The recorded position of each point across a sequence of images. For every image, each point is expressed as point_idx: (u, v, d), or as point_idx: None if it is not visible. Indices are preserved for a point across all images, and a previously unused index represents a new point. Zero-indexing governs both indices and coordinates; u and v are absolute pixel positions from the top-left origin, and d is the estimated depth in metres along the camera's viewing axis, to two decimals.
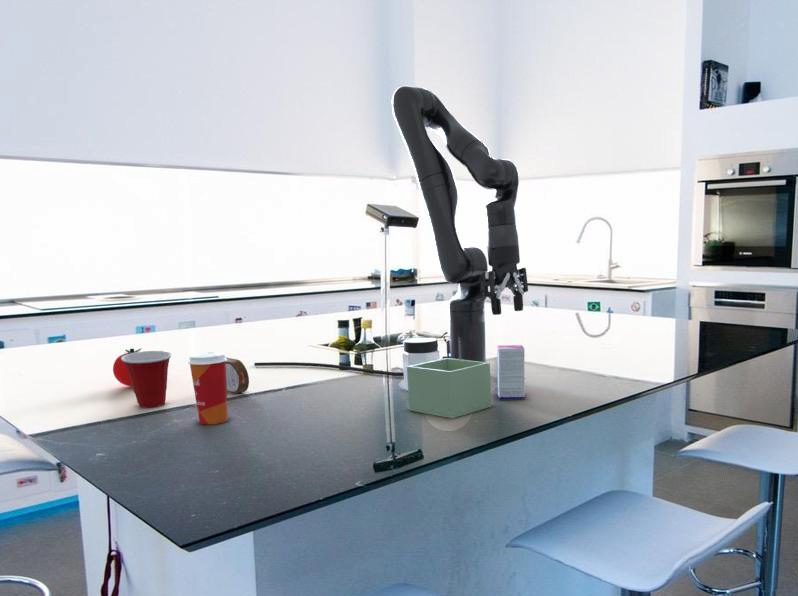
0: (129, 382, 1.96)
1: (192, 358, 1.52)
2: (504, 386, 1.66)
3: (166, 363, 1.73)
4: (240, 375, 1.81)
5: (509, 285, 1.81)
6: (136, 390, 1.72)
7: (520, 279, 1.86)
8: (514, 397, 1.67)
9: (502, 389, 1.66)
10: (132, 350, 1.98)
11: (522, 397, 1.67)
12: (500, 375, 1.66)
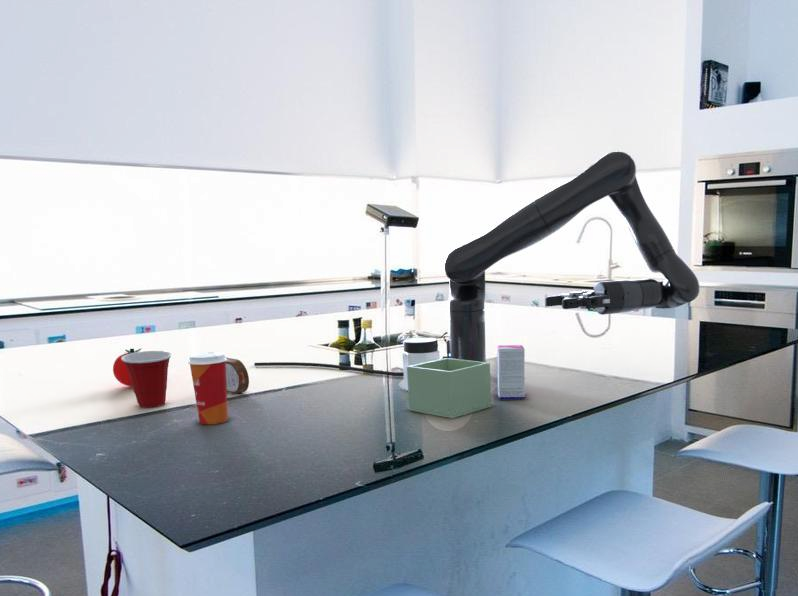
0: (129, 382, 1.96)
1: (192, 358, 1.52)
2: (504, 386, 1.66)
3: (166, 363, 1.73)
4: (240, 375, 1.81)
5: None
6: (136, 390, 1.72)
7: None
8: (514, 397, 1.67)
9: (502, 389, 1.66)
10: (132, 350, 1.98)
11: (522, 397, 1.67)
12: (500, 375, 1.66)
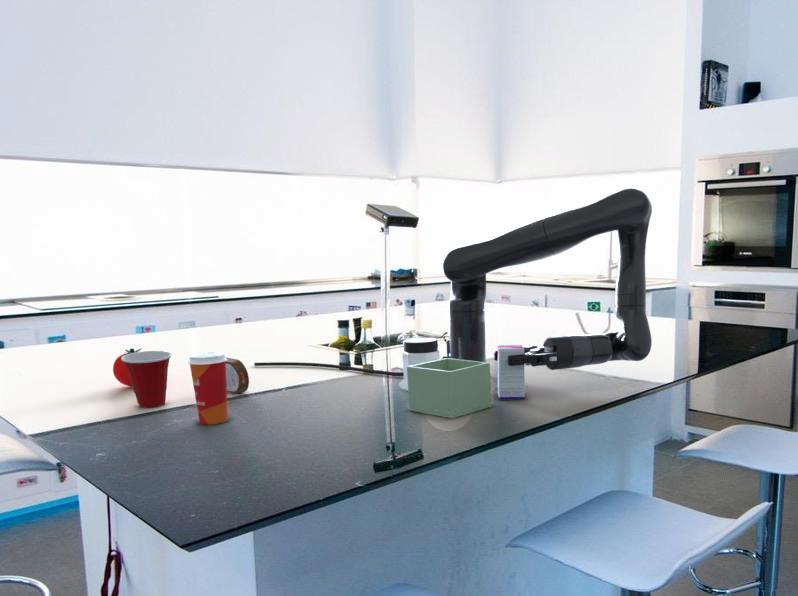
0: (129, 382, 1.96)
1: (192, 358, 1.52)
2: (504, 386, 1.66)
3: (166, 363, 1.73)
4: (240, 375, 1.81)
5: None
6: (136, 390, 1.72)
7: None
8: (514, 397, 1.67)
9: (502, 389, 1.66)
10: (132, 350, 1.98)
11: (522, 397, 1.67)
12: (500, 375, 1.66)
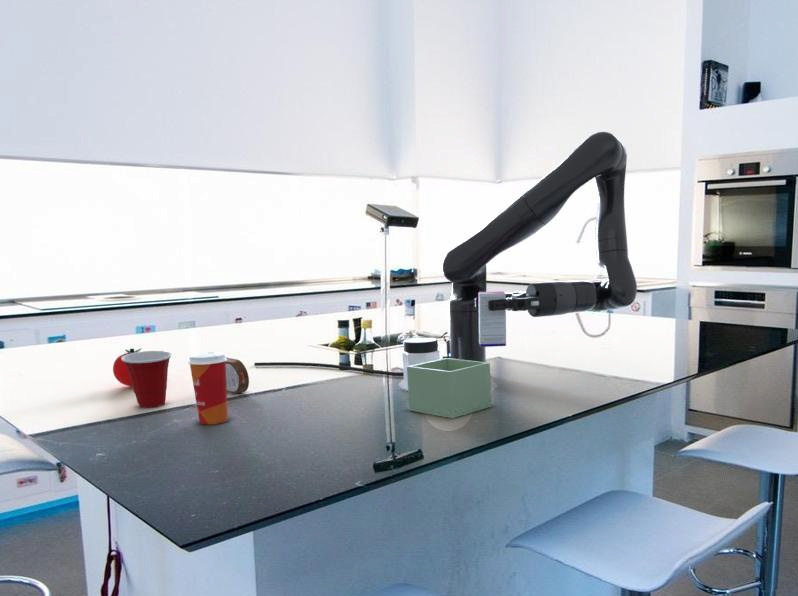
0: (129, 382, 1.96)
1: (192, 358, 1.52)
2: (485, 332, 1.61)
3: (166, 363, 1.73)
4: (240, 375, 1.81)
5: None
6: (136, 390, 1.72)
7: None
8: (495, 344, 1.61)
9: (483, 335, 1.61)
10: (132, 350, 1.98)
11: (504, 344, 1.61)
12: (481, 321, 1.61)
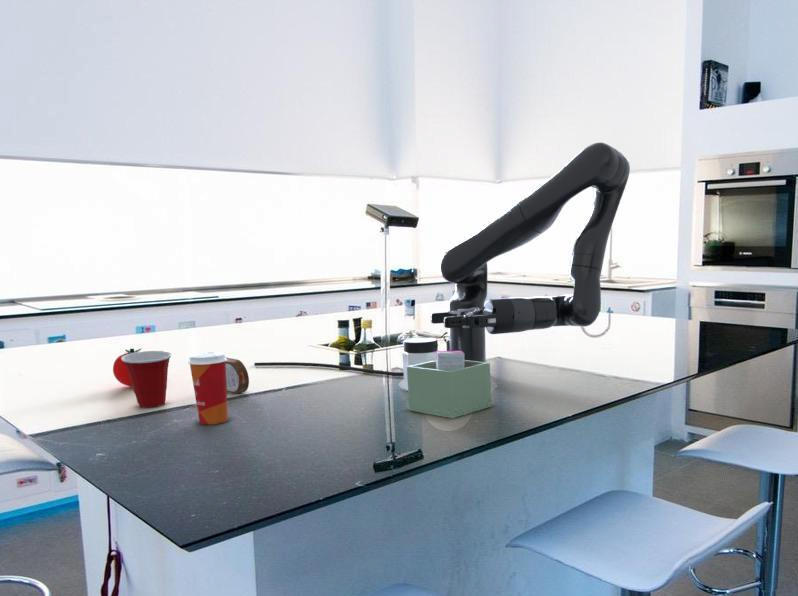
0: (129, 382, 1.96)
1: (192, 358, 1.52)
2: None
3: (166, 363, 1.73)
4: (240, 375, 1.81)
5: None
6: (136, 390, 1.72)
7: (462, 316, 1.64)
8: None
9: None
10: (132, 350, 1.98)
11: None
12: None
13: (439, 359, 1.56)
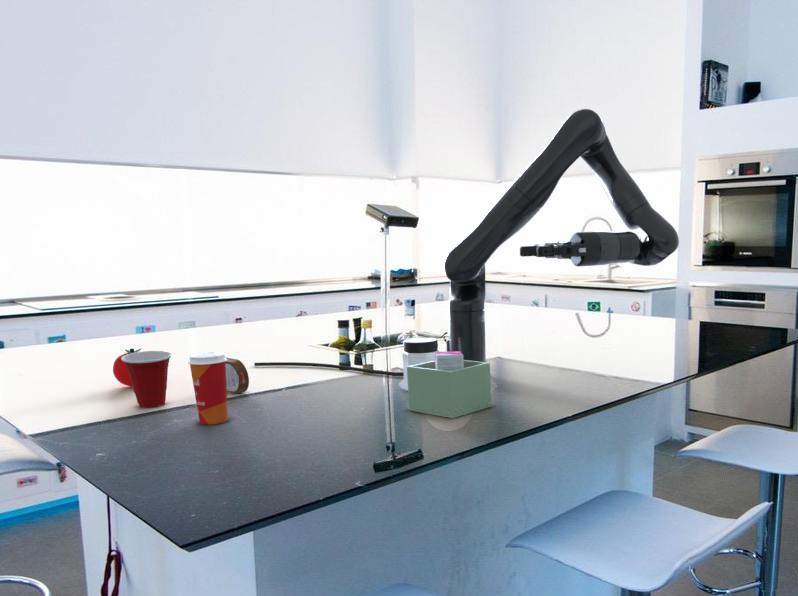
0: (129, 382, 1.96)
1: (192, 358, 1.52)
2: None
3: (166, 363, 1.73)
4: (240, 375, 1.81)
5: None
6: (136, 390, 1.72)
7: None
8: None
9: None
10: (132, 350, 1.98)
11: None
12: None
13: (438, 361, 1.56)
